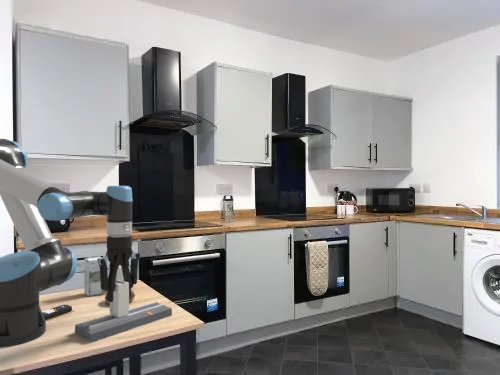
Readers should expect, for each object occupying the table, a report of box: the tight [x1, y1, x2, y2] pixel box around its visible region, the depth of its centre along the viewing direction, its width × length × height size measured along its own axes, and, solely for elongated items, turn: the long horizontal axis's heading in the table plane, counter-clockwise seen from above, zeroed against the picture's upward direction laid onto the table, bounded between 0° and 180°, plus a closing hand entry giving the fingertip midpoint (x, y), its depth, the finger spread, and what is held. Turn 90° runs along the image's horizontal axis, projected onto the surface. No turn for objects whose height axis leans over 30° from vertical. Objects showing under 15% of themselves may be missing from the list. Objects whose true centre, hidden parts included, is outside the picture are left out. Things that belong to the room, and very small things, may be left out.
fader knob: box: [109, 280, 130, 318], centre depth 115 cm, size 5×4×11 cm
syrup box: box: [83, 256, 104, 297], centre depth 147 cm, size 6×6×14 cm
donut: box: [104, 290, 136, 305], centre depth 139 cm, size 11×11×4 cm
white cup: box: [116, 265, 131, 281], centre depth 154 cm, size 8×8×10 cm
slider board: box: [74, 300, 173, 343], centre depth 117 cm, size 10×28×3 cm, turn 140°
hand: (119, 309), depth 116 cm, fingers closed on fader knob, 4 cm apart
